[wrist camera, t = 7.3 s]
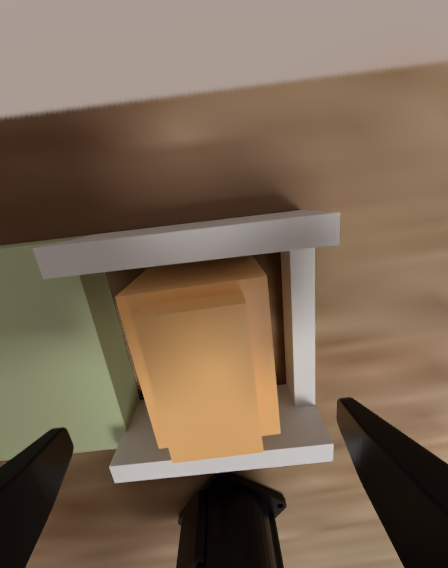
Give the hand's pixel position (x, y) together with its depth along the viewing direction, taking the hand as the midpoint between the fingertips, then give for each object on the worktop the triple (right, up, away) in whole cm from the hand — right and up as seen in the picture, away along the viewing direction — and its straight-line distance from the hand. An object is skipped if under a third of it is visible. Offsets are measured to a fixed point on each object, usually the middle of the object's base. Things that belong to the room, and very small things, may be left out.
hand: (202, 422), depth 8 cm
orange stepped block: (0, +2, +7) cm, 8 cm away
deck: (-9, +1, +7) cm, 11 cm away
